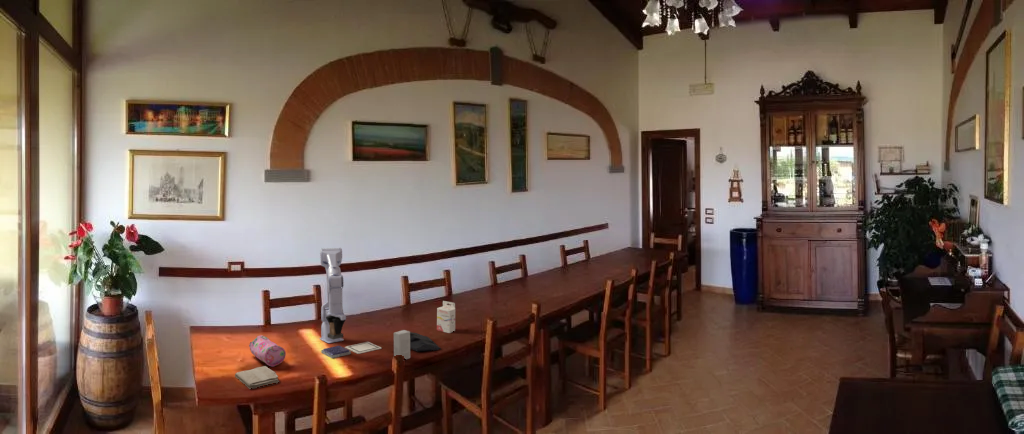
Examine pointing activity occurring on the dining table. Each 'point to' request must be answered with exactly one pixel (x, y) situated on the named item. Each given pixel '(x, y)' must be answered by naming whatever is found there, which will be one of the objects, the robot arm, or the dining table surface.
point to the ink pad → (335, 351)
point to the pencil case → (267, 351)
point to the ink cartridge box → (446, 317)
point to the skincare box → (402, 343)
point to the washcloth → (257, 377)
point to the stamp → (333, 332)
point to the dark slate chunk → (422, 343)
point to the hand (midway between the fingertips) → (335, 332)
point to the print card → (363, 347)
